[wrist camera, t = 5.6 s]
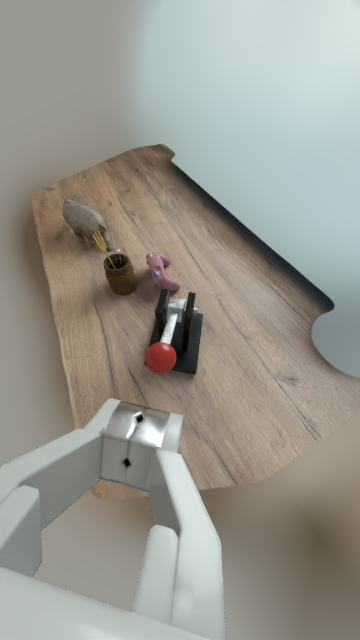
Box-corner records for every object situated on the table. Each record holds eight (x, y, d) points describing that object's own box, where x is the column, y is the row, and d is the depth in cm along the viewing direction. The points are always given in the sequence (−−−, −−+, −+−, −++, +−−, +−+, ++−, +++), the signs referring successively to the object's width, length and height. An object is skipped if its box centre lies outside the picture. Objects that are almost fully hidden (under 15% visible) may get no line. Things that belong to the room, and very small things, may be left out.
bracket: (195, 374, 33) (204, 346, 23) (145, 365, 34) (132, 335, 24) (202, 317, 39) (211, 275, 29) (159, 310, 40) (154, 268, 30)
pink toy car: (155, 269, 48) (139, 251, 42) (171, 260, 47) (156, 240, 41) (165, 299, 43) (148, 283, 37) (182, 290, 42) (168, 271, 36)
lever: (172, 382, 19) (174, 360, 17) (141, 377, 19) (140, 354, 18) (186, 315, 30) (189, 297, 28) (166, 312, 30) (167, 294, 28)
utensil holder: (126, 300, 41) (110, 254, 31) (104, 288, 43) (82, 241, 33) (143, 282, 44) (133, 235, 34) (121, 272, 45) (106, 224, 35)
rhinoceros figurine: (87, 258, 44) (52, 182, 38) (81, 259, 55) (53, 201, 49) (119, 248, 47) (91, 176, 41) (107, 251, 58) (84, 196, 52)
